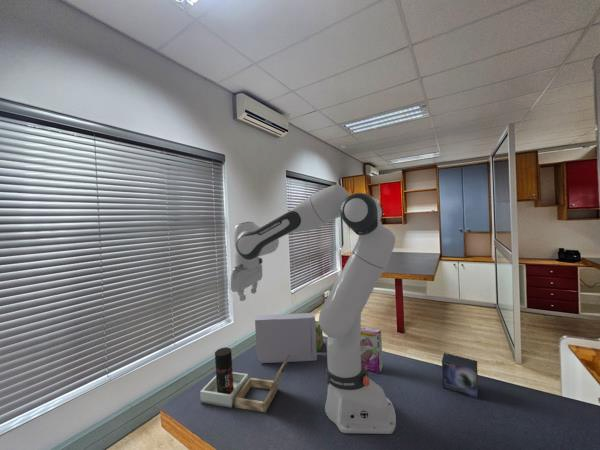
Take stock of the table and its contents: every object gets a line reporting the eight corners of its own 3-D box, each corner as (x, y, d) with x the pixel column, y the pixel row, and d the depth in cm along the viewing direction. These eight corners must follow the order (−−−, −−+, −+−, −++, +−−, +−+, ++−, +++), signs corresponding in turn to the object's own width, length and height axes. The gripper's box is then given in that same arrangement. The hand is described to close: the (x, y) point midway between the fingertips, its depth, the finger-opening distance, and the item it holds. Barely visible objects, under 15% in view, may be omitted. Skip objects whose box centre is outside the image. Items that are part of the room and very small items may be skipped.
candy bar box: (353, 367, 105) (351, 329, 104) (357, 361, 109) (355, 324, 109) (380, 374, 99) (378, 334, 98) (383, 368, 103) (381, 329, 103)
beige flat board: (277, 380, 93) (280, 382, 93) (265, 402, 82) (268, 405, 82) (288, 354, 92) (291, 356, 91) (277, 373, 81) (280, 375, 80)
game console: (317, 361, 110) (315, 317, 110) (257, 364, 111) (254, 320, 110) (316, 354, 116) (314, 312, 116) (259, 356, 117) (257, 315, 116)
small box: (442, 388, 89) (440, 360, 89) (444, 378, 94) (443, 351, 94) (478, 400, 83) (476, 369, 82) (478, 389, 88) (477, 360, 88)
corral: (277, 389, 93) (277, 381, 93) (265, 412, 82) (265, 403, 82) (250, 385, 96) (249, 377, 96) (234, 407, 85) (234, 398, 85)
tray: (248, 384, 97) (248, 374, 97) (231, 407, 85) (231, 396, 85) (221, 380, 101) (220, 370, 100) (200, 402, 88) (200, 391, 88)
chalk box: (319, 352, 118) (317, 321, 117) (301, 350, 121) (299, 320, 120) (323, 342, 126) (322, 314, 126) (306, 341, 129) (305, 313, 129)
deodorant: (224, 398, 89) (221, 357, 88) (213, 392, 92) (211, 353, 92) (236, 388, 94) (234, 349, 93) (226, 383, 97) (224, 346, 97)
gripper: (240, 267, 88) (242, 305, 88) (264, 258, 108) (265, 289, 108) (225, 267, 90) (227, 305, 90) (251, 258, 109) (252, 289, 109)
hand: (248, 296), depth 99 cm, fingers open, 8 cm apart
